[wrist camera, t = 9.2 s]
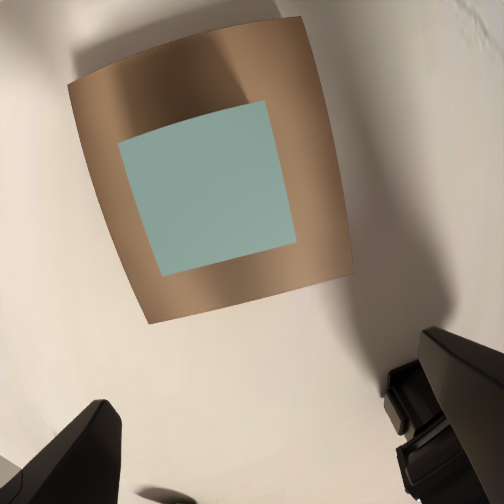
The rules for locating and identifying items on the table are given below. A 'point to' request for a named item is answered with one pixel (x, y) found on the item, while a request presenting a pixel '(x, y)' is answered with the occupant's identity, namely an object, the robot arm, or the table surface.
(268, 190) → the slate block
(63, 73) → the table surface
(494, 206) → the table surface
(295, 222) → the walnut plinth
